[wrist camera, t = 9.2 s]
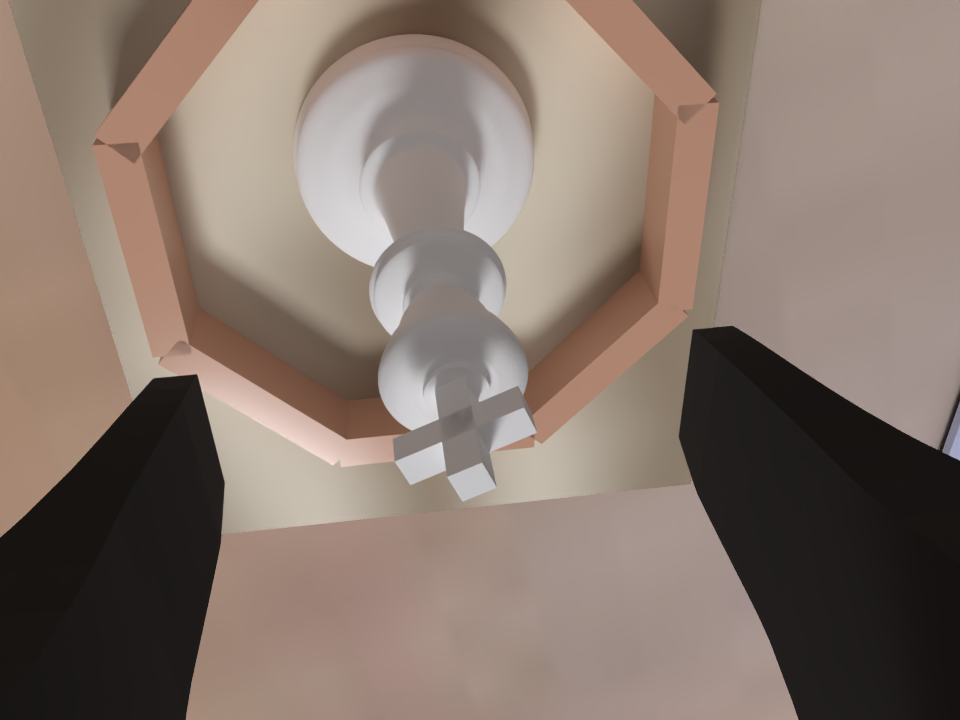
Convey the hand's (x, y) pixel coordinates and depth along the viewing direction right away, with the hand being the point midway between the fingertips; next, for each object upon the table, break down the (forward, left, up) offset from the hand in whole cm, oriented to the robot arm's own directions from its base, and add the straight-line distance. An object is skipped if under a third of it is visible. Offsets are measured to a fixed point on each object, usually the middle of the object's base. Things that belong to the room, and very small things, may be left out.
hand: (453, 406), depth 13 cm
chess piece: (0, -1, -7) cm, 7 cm away
